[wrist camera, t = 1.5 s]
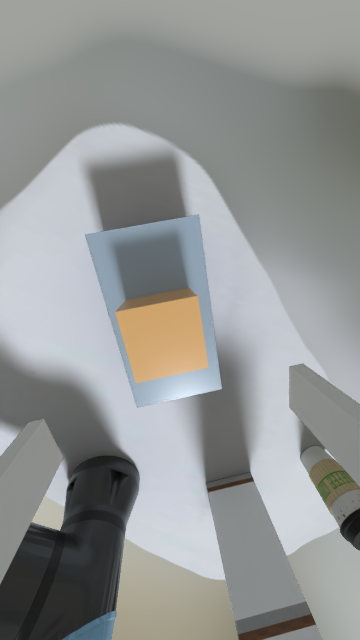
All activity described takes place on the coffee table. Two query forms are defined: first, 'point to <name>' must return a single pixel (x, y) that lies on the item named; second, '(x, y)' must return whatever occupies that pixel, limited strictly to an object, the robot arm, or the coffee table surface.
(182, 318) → the lid
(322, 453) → the coffee cup
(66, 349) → the coffee table surface
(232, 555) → the tall white vase
